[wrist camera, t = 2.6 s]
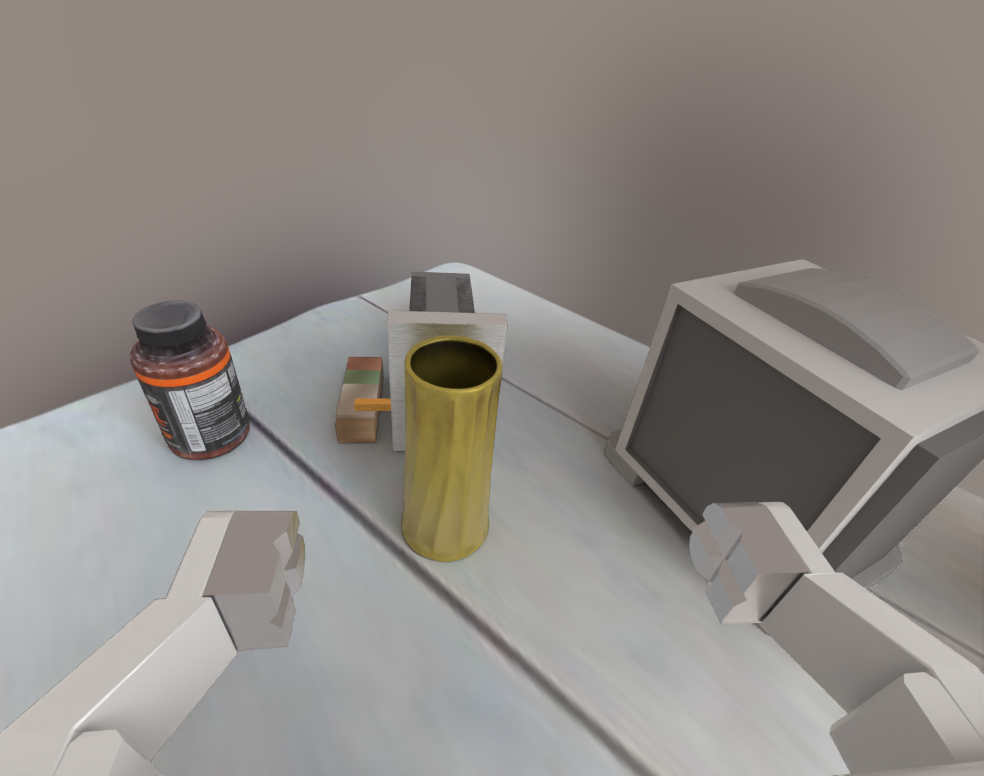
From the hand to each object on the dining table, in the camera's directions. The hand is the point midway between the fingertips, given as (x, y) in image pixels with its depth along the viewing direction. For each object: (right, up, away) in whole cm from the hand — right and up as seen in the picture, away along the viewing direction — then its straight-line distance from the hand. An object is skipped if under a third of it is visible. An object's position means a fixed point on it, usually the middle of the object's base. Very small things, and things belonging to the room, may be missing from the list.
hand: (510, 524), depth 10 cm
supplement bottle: (-23, -1, +30) cm, 38 cm away
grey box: (+19, -7, +30) cm, 36 cm away
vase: (-4, -7, +26) cm, 27 cm away
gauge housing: (-6, +7, +42) cm, 43 cm away
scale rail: (-12, +1, +34) cm, 36 cm away
